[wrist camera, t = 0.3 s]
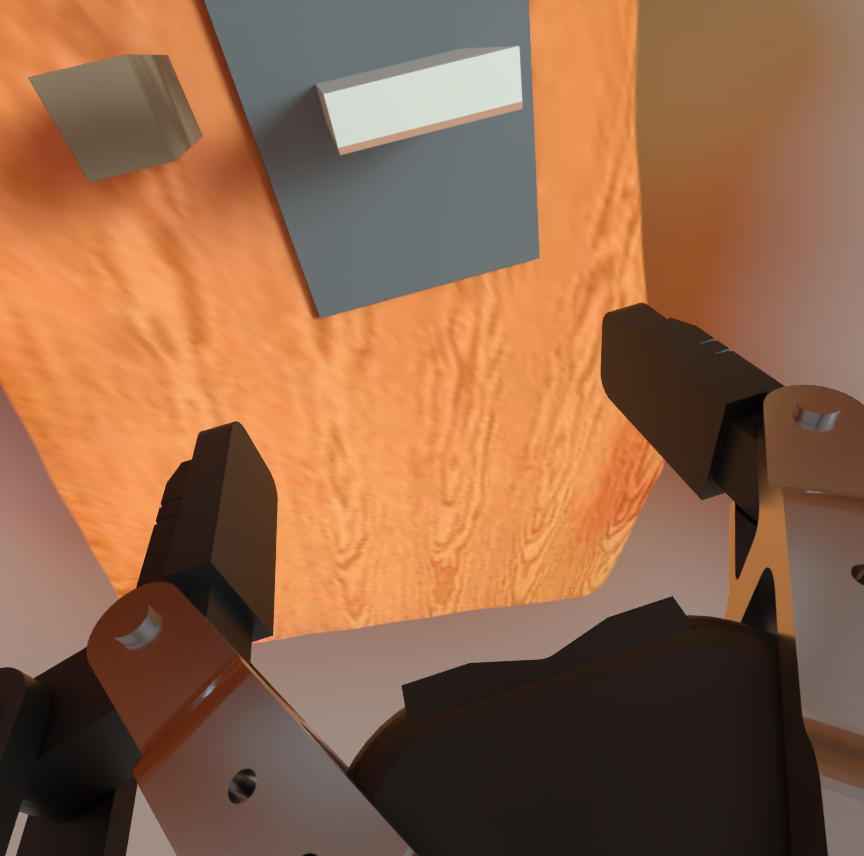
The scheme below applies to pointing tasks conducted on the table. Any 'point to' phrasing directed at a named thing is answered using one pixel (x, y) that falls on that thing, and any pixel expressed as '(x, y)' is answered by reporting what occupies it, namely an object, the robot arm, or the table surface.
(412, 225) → the mat
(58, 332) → the table surface
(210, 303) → the table surface
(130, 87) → the block
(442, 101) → the tile
